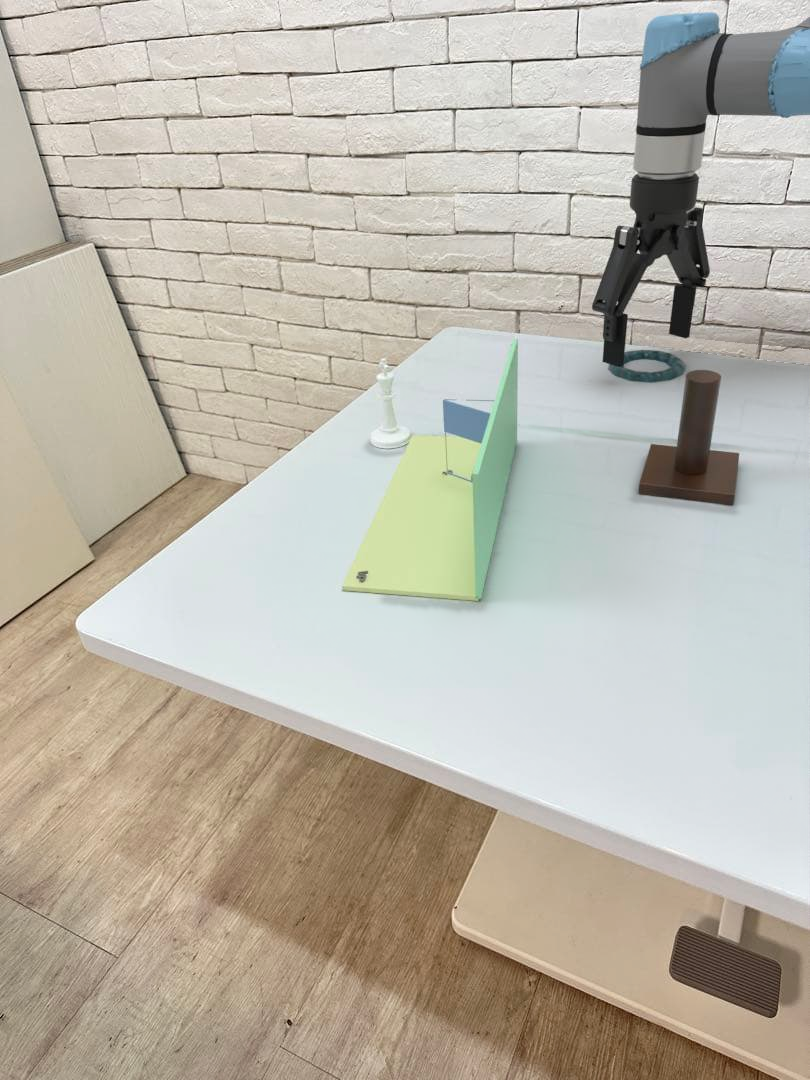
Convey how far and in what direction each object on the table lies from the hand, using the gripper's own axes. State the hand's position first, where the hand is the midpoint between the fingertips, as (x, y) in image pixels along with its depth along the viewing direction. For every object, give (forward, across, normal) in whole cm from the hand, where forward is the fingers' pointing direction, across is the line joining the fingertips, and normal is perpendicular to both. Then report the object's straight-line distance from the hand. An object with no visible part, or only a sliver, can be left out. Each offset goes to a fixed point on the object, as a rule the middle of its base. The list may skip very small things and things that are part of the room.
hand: (646, 349), depth 104 cm
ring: (+2, 0, 0) cm, 3 cm away
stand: (+3, +19, +21) cm, 28 cm away
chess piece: (+4, +36, -9) cm, 37 cm away
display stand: (+4, +41, +7) cm, 42 cm away
